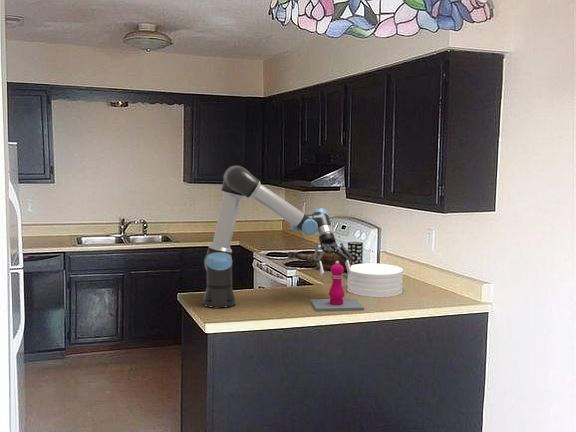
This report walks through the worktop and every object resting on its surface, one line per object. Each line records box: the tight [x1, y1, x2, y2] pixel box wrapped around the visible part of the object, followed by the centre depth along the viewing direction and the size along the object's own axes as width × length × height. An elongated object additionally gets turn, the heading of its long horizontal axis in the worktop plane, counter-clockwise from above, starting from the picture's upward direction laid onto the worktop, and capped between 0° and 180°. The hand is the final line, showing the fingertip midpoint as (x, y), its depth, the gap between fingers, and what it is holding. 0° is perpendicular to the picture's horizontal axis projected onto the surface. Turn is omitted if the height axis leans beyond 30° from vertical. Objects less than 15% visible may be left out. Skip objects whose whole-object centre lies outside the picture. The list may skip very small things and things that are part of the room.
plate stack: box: [346, 262, 404, 298], centre depth 313 cm, size 28×28×12 cm
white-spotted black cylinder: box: [346, 241, 364, 279], centre depth 339 cm, size 8×8×20 cm
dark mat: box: [310, 298, 365, 312], centre depth 282 cm, size 22×16×1 cm
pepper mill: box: [328, 261, 346, 305], centre depth 281 cm, size 7×7×20 cm
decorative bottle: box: [287, 251, 347, 273], centre depth 366 cm, size 11×11×45 cm
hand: (336, 273), depth 284 cm, fingers open, 13 cm apart
